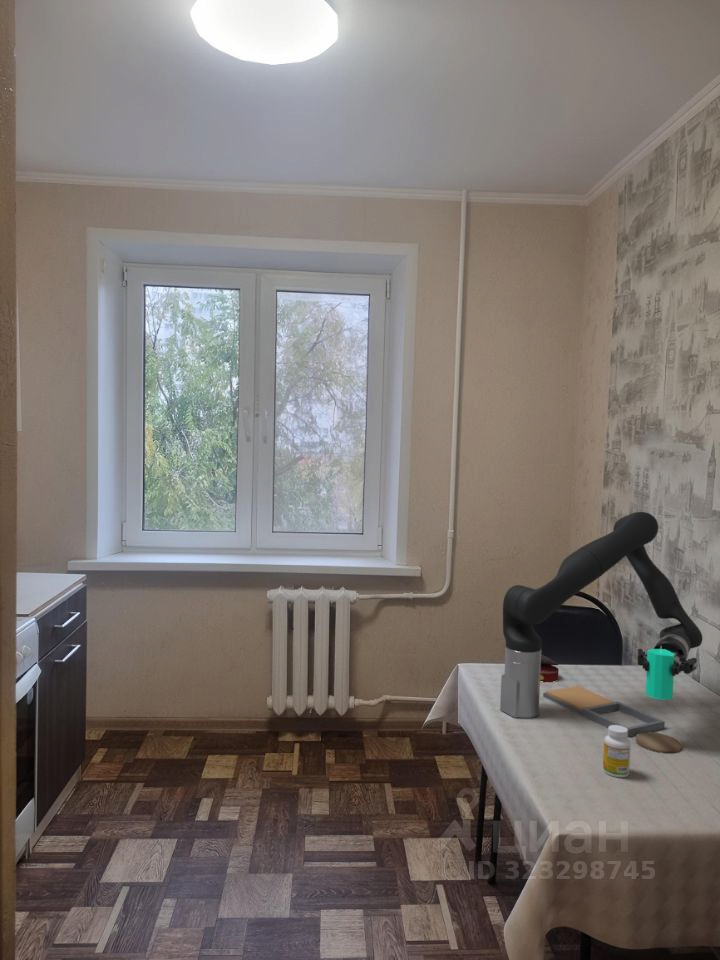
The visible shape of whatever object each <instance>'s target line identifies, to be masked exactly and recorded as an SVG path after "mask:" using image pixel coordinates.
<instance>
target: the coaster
mask: <svg viewBox="0 0 720 960" xmlns="http://www.w3.org/2000/svg"><path fill="white" fill-rule="evenodd" d="M635 742H637V743H636V744H637V745H638V744H639V745H638V746H640V747H641V748H643V747H644V749H645V748H646V750H648V749H649V750H648V751H651V750H652V751H651V752H655V751H656V753H660V752H662V753H661V754H674V753H679V752H680V751H681V750H682V743H681V742H680V741H679V740H678V739H676V738H675V737H673V736H670V735H668V734H664V733H660V732H659V733H658V732H654V731H651V732H644V733H639V734H638V735H635Z"/></svg>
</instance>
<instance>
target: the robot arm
mask: <svg viewBox="0 0 720 960" xmlns="http://www.w3.org/2000/svg"><path fill="white" fill-rule="evenodd" d="M658 532H659V524H658V520H657V519H656V517H655V516H653V515H652V514H651V513H649V512H645V511H636V512H635V511H634V512H632V513H630V514H628V515H626V516H623V517H620V518H619V519H618V520H617V521H616V522H615V523H614V525H613V529H612V532H610V533H607V534H606V535H603V536H601V537H598V538H596V539H594V540H592V541H590V542H589V543H586V544H584V545H583V546H581V547H579V548H578V549H576V550H574V551H573V552H571V554H569V555H568V556H566V557H565V558H564V559H563V560H562V562H561V564H560V567H558V570H557V571H558V572H557V574H556V575H555V577H553V579H551V580H550V581H548V582H547V583H545V584H544V585H542V586H541V587H538V588H532V587H528V586H525V585H520V584H517V585H513V586H511V587H509V589H508V590H507V591H506V593H505V594H504V597H503V603H502V632H503V636H504V640H505V649H504V650H505V651H504V653H505V654H504V674H502V675H501V678H500V680H501V681H500V701H499V702H500V704H499V706H500V708H499V711H501V712H503V713H506V714H507V715H509V716H511V717H513V718H523V719H525V718H526V719H527V718H528V719H529V718H535V717H537V716H539V714H540V713H539V711H540V710H539V709H540V694H541V693H540V692H541V691H540V690H541V689H540V688H541V682H540V670H541V655H542V643H543V642H542V638H541V636H540V635H538V633H537V632H536V631H535V629H534V627H533V626H536V625H540V624H541V623H543V622H544V621H546V620H548V618H549V617H550V616H551V615H552V614H554V613H555V612H556V610H558V609H559V608H560V607H562V606H563V605H564V604H565V603H566V602H567V601H568V600H569V599H571V598H572V597H574V596H575V595H576V594H578V593H579V592H580V591H582V590H583V589H584V588H586V587H587V586H589V585H591V584H592V583H593V582H595V581H596V580H598V579H599V578H600V577H602V576H603V575H604V574H605V573H606V572H608V571H609V570H610V569H612V568H613V567H614V566H615V565H616V564H618V563H619V562H620V561H621V560H623V558H625V557H626V558H627V560H628V561H629V563H630V565H631V566H632V568H633V570H634V572H635V573H636V575H637V576H638V578H639V580H640V581H641V583H642V585H643V587H644V590H645V592H646V593H647V596H648V599H649V600H650V603H651V606H652V608H653V610H654V612H655V614H656V616H657V618H659V619H661V620H663V619H665V620H666V619H674V620H677V621H678V622H679V623H677V624H674V625H671V626H668V627H665V628H663V629H661V630H660V633H659V641H658V642H657V643H656V645H654V647H653V649H666V650H668V651H670V652H671V653H674V664H673V666H672V676H674V677H676V675H680V674H681V673H682V672H683V673H684V674H687V675H688V674H689V675H690V674H691V673H693V672H695V670H697V667H698V660H697V658H696V657H691V658H688V657H689V653H690V650H691V649H695V648H697V647H700V646H701V645H702V643H703V635H702V631H701V630H700V628H699V627H698V626H697V624H696V622H694V621H693V620H692V618H691V617H690V616H689V615H688V613H687V612H686V611H685V609H684V608H683V605H682V604H681V601H680V599H679V597H678V595H677V593H676V590H675V588H674V586H673V584H672V583H671V581H670V580H669V578H668V577H667V576H666V575H665V574H664V572H662V570H661V569H659V568H658V567H657V566H656V564H655V563H654V562H653V561H652V559H651V558H650V556H649V555H648V553H647V550H646V547H645V545H647V544H649V543H651V542H653V540H655V538H656V537H657V536H658V535H657V534H658ZM637 665H639V666H642V667H641V668H642V669H643V670H644V671H645V672H647V671H648V667H649V662H648V661H647V652H646V650H644V649H642V648H637Z"/></svg>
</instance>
